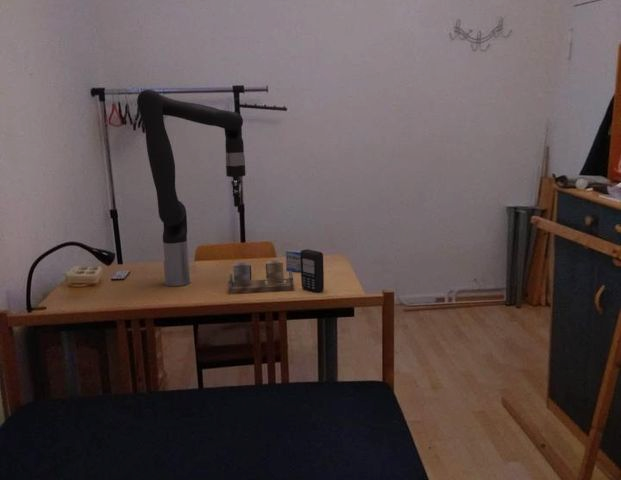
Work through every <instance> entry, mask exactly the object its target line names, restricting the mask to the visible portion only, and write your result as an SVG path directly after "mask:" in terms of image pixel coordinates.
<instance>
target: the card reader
mask: <svg viewBox="0 0 621 480" xmlns="http://www.w3.org/2000/svg"><path fill="white" fill-rule="evenodd" d="M300 250H301V252H300V259H301V272H300V276H301V278H300V279H301V288H303V289H304V290H307V291H310V292H314V293H321V292H323V291H324V290H325V289H324V288H325V283H324V282H325V279H324V277H325V276H324V275H325V274H324V271H325V270H324V254H323V253H322V252H321V251H316V250H312V249H307V248H306V249H300Z"/></svg>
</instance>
